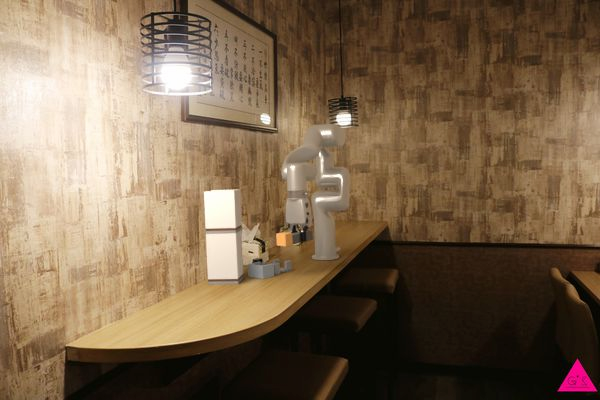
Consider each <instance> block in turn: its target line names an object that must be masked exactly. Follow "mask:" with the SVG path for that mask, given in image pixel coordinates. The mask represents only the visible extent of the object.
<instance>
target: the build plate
mask: <svg viewBox="0 0 600 400" xmlns="http://www.w3.org/2000/svg"><path fill="white" fill-rule="evenodd" d="M255 262H261V263H262V262H264V260H263V258H262V257H261V258H259V257H256V258H253V259H252V262H251V263H255Z"/></svg>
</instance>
